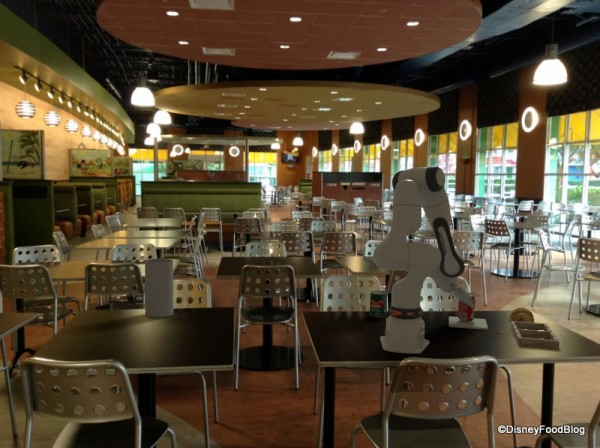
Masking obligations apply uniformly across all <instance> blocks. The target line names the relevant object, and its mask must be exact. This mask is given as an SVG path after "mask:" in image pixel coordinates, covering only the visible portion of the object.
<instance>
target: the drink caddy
mask: <svg viewBox="0 0 600 448" xmlns="http://www.w3.org/2000/svg"><path fill="white" fill-rule="evenodd" d="M510 329H511V332H512V334H513V336H514V338H515V342H516V343H517V345H519V346H520V347H528V346H529V347H530V348H540V347H542V348H541V349H551V348H556V349H555V350H560V340H559V338H558V337H557V336H556V335H555V333H554V331H552V329H551V327H550V326H549V325H548V323H543V322H534V323H531V322H518V321H512V320H511V321H510ZM525 329H527V330H525ZM538 330H544V331H538ZM525 337H529V338H525ZM538 338H544V339H538ZM549 339H550V340H549ZM519 346H518V347H519Z"/></svg>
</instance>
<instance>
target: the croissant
mask: <svg viewBox="0 0 600 448" xmlns="http://www.w3.org/2000/svg"><path fill="white" fill-rule="evenodd" d="M509 320H511V321H518V322H531V323H535V318H534V314H533V312H532V311H531V310H530V309H527V308H526V307H522V306H521V307H517V308H514V309H513V310H512V311H511V312H510V313H509Z"/></svg>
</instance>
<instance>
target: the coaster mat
mask: <svg viewBox="0 0 600 448" xmlns="http://www.w3.org/2000/svg"><path fill="white" fill-rule="evenodd" d="M448 327H449V328H460V329H461V328H462V329H474V330H484V331H487V330H489V328H488V324H487V320H486V318H475V317H474V320H472V321H471V322H463V321H461V320H460V319H459V318H458V316H448Z"/></svg>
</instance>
